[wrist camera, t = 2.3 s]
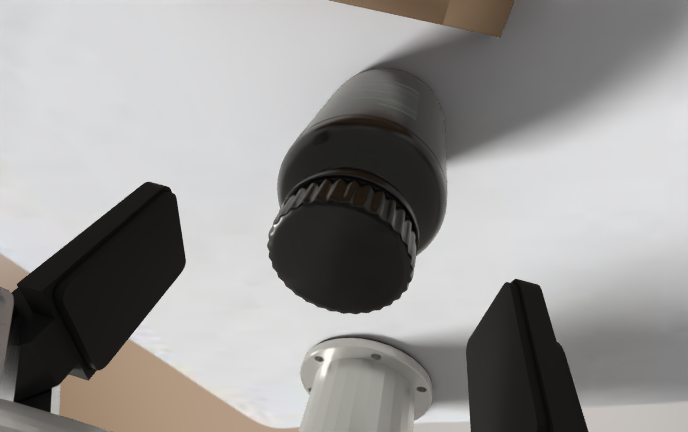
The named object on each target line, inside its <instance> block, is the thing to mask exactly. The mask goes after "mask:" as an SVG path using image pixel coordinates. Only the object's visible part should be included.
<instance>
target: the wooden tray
mask: <svg viewBox="0 0 688 432" xmlns="http://www.w3.org/2000/svg"><path fill="white" fill-rule="evenodd" d="M330 1H335V2H339V3H344V4H348V5H353V6H358V7H362V8H367V9H371V10H376V11H381V12H385V13H390V14H394V15H399V16H404V17H408V18H413V19H417V20H422V21H427V22H431V23H436V24H440V25H445V26H450V27H454V28H459V29H463V30H468V31H473V32H477V33H482V34H486V35H491V36H496V37H501V34H502V32H503V29H504V27H505V24H506V21H507V19H508V16H509V13H510V11H511V8H512V6H513V3H514V0H330Z"/></svg>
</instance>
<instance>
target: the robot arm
mask: <svg viewBox="0 0 688 432" xmlns="http://www.w3.org/2000/svg"><path fill="white" fill-rule="evenodd" d="M185 263H186V259H185V252H184V245H183V239H182V232H181V226H180V219H179V212H178V206H177V199H176V195H175V194H173V193H172V191H171V189H170V188H169V187H167V186H163V185H159V184H156V183H152V182H146V183H144V184H142V185H141V186H140V187H139V188H137V189H136V190H135V191H134V192H132V193H131V194H130V195H129V196H127V197H126V198H125V199H124V200H122V201H121V202H120V203H118V204H117V205H116V206H115V207H113V208H112V209H111V210H110V211H108V212H107V213H106V214H105V215H103V216H102V217H101V218H100V219H98V220H97V221H96V222H94V223H93V224H92V225H91V226H89V227H88V228H87V229H86V230H84V231H83V232H82V233H81V234H79V235H78V236H77V237H76V238H74V239H73V240H72V241H70V242H69V243H68V244H67V245H65V246H64V247H63V248H62V249H60V250H59V251H58V252H57V253H55V254H54V255H53V256H52V257H50V258H49V259H48V260H46V261H45V262H44V263H43V264H41V265H40V266H39V267H38V268H36V269H35V270H34V271H33V272H31V273H30V274H29V275H28V276H26V277H25V278H24V279H22V280H21V281H20V282H19V283H18V284H17V286H18V288H17V289H16V290H14V291H13V292H12V293H11V292H10V291H9V290H6V289H4V288H2V287H0V432H111V431H108V430H105V429H102V428H99V427H96V426H92V425H89V424H85V423H83V422H79V421H76V420H73V419H70V418H66V417H63V416H60V415H59V402H60V383H61V382H62V381H63V380H64V379H65V377H66V376H67V375H68V374H69V375H73V376H76V377H79V378H82V379H85V380H89V379H90V378H91V377H92V375H93V374H94V373H95V372H96V371H97V370H101V369H103V368H104V367H106V366H107V364H108V363H109V362H110V361H111V360H112V358H113V357H114V356H115V355H116V353H117V352H118V351H119V349H120V348H121V347H122V346H123V345H124V343H125V342H126V341H127V340H128V338H129V337H130V336H131V335H132V333H133V332H134V331H135V330H136V328H137V327H138V326H139V325H140V323H141V322H142V321H143V320H144V318H145V317H146V316H147V315H148V313H149V312H150V311H151V310H152V308H153V307H154V306H155V305H156V303H157V302H158V301H159V300H160V299H161V297H162V296H163V295H164V294H165V292H166V291H167V290H168V289H169V287H170V286H171V285H172V284H173V282H174V281H175V280H176V279H177V277H178V276H179V275H180V274H181V272H182V271H183V269H184V267H185ZM466 356H467V373H468V390H469V407H470V424H471V432H588V429H587V426H586V422H585V419H584V416H583V413H582V409H581V406H580V402H579V399H578V396H577V393H576V389H575V386H574V383H573V379H572V376H571V373H570V369H569V366H568V363H567V359H566V356H565V353H564V350H563V348H562V346H561V345H560V344H559V343H558V342H556V338H555V335H554V331H553V328H552V324H551V321H550V318H549V314H548V311H547V307H546V304H545V300H544V297H543V293H542V290H541V288H540V286H539V285H537V284H534V283H530V282H526V281H522V280H518V279H515V280H513V281H512V282H511V283H508V282H506V283H505V284H504V285H503V286H502V288H501V290H500V291H499V293H498V294H497V296H496V298H495V299H494V301H493V302H492V304H491V305H490V307H489V309H488V310H487V312H486V313H485V315H484V316H483V318H482V320H481V321H480V323H479V324H478V326H477V327H476V329H475V331H474V332H473V334H472V335H471V337H470V338H469V340H468V343H467V349H466ZM300 376H301V381H302V383H303V386H304V388H305V389H306V391H307V392H308V393H309V399H308V402H307V405H306V409H305V412H304V415H303V418H302V422H301V425H300V428H299V432H413V422H414V420H417V419H418V418H420V417H421V416H423V415H424V414H425V413H426V412H427V411H428V410H429V408H430V406H431V403H432V391H433V390H432V383H431V380H430V378H429V376H428V374H427V373H426V371H425V370H424V369H423V367H422V366H421V365H420V364H418V363H417V362H416V361H415V360H414V359H413V358H411V357H410V356H408V355H407V354H405V353H404V352H402V351H400V350H398V349H396V348H394V347H391V346H389V345H386V344H383V343H380V342H377V341H372V340H367V339H360V338H338V339H333V340H328V341H325V342H323V343H320V344H318V345H316V346H315V347H313V348H312V349H310V350H309V352H308V353H307V354H306V355H305V358H304V360H303V363H302V366H301V371H300Z"/></svg>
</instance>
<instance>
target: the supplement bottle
mask: <svg viewBox="0 0 688 432" xmlns="http://www.w3.org/2000/svg"><path fill="white" fill-rule="evenodd" d="M277 192H278V201H279V206H280V211H279V214H278V215H277V217H276V218H275V220H274V222H273V226H272V228H271V230H270V231H269V241H268V244H267V246H268V249H269V251H270V252H269V258H270V259H271V261H272V267H273V268H274V269H275V271H276V272H277V274H278V277H279V278H280V279H281V280H282V281H284V283H285V285H286V287H288V288H289V289H291V290H292V291H293V292H294V293H295V294H296V295H297V296H300V297H302V298H303V299H304V300H305V301H306V302H309V303H313V304H314V305H316V306H317V307H320V308H325V309H327V310H329V311H337V312H340V313H343V314H344V313H352V314H359V313H369V312H371V311H373V310H381V309H382V308H383V307H384V306H389V305H391V304H392V303H393V301H394V300H397V299H399V298H400V297H401V294H402V293H403V292H405V291H406V290H407V289H408V286H409V283H410V282H411V280H412V278H413V273H414V267H415V260H416V256H417V255H419V254H420V253H421V252H422V251H423V250H424V249H426V248H427V247H428V245H429V244H430V243H431V242H432V241H433V239H434V238H435V237H436V235H437V233H438V232H439V230H440V228H441V225H442V223H443V220H444V217H445V212H446V206H447V168H446V136H445V122H444V116H443V112H442V109H441V106H440V104H439V102H438V100H437V98H436V96H435V95H434V94H433V92H432V91H431V90H430V89H429V87H428V86H426V85H425V84H424V83H423V82H422V81H421V80H419V79H418V78H416V77H414V76H413V75H411V74H408V73H406V72H403V71H400V70H395V69H387V68H381V69H373V70H368V71H365V72H362V73H360V74H357V75H355V76H354V77H352V78H350V79H349V80H348V81H346V82H345V83H344V84H343V85H342V86H341V87H340V88H339V89H338V90H337V91H336V92H335V93H334V94H333V95H332V97H331V98H330V99H329V100H328V101H327V103H326V104H325V105H324V106H323V108H322V109H321V110H320V111H319V112H318V114H317V115H316V116H315V117H314V119H313V120H312V121H311V122H310V123H309V125H308V126H307V127H306V128H305V130H304V131H303V132H302V133H301V134H300V136H299V137H298V139H296V141H295V142H294V144H293V145H292V146H291V148H290V149H289V151H288V152H287V154H286V156H285V157H284V160H283V162H282V164H281V167H280V171H279V175H278V183H277Z"/></svg>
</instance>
